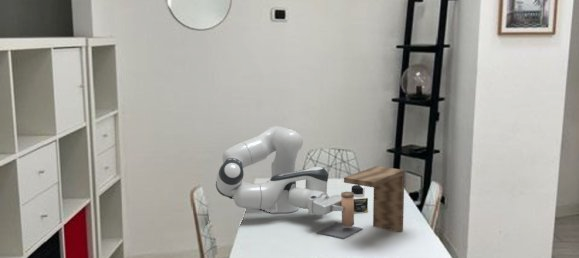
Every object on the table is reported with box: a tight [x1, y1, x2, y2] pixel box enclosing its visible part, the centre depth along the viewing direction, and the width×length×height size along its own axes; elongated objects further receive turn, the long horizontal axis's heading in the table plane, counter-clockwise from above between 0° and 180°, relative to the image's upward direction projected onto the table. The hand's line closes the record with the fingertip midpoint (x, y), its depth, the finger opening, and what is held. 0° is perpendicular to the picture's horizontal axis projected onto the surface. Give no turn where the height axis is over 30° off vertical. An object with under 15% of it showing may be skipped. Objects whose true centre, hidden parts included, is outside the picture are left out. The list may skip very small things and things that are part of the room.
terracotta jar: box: [340, 191, 355, 226], centre depth 237 cm, size 5×5×13 cm
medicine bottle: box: [350, 184, 369, 214], centre depth 266 cm, size 7×7×12 cm
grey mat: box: [316, 222, 363, 240], centre depth 238 cm, size 13×15×1 cm
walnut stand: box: [343, 165, 405, 233], centre depth 230 cm, size 13×26×26 cm, turn 143°
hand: (347, 207), depth 237 cm, fingers closed on terracotta jar, 5 cm apart
